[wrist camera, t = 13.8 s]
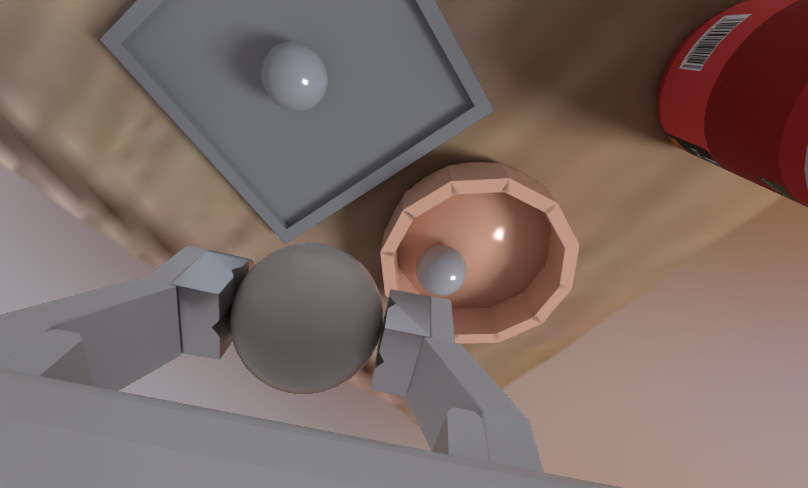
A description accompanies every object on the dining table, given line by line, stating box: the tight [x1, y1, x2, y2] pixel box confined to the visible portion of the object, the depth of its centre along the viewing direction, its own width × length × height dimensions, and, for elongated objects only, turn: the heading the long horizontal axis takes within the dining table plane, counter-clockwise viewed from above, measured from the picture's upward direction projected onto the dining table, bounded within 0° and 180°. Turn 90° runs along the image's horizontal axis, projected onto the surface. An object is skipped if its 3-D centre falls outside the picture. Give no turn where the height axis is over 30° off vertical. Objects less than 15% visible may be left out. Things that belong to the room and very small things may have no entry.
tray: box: [100, 0, 494, 244], centre depth 22 cm, size 15×16×1 cm
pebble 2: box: [230, 243, 383, 394], centre depth 9 cm, size 3×3×3 cm
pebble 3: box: [416, 245, 467, 296], centre depth 26 cm, size 3×3×3 cm
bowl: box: [380, 161, 579, 343], centre depth 26 cm, size 12×12×4 cm
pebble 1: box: [261, 42, 328, 112], centre depth 20 cm, size 3×3×3 cm
